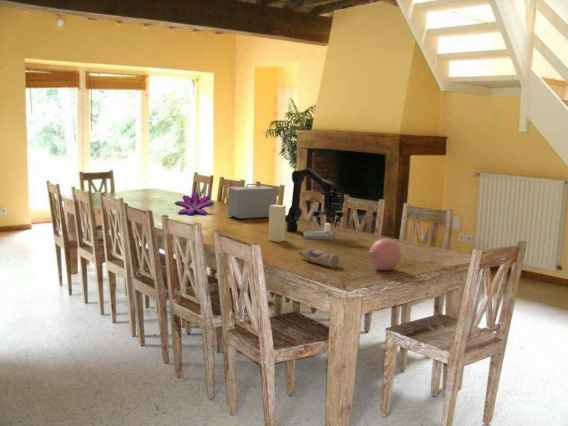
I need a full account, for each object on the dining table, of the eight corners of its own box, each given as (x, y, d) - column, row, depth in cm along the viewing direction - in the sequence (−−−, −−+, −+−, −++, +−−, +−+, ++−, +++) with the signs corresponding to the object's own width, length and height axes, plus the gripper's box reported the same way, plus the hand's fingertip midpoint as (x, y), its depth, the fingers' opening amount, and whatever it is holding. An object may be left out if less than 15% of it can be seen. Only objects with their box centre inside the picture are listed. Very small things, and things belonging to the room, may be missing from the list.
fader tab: (324, 234, 365) (324, 224, 364) (323, 232, 370) (323, 223, 369) (330, 234, 365) (330, 224, 364) (329, 232, 370) (330, 223, 369)
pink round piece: (354, 269, 287) (356, 238, 284) (384, 264, 298) (386, 235, 295) (376, 276, 274) (378, 244, 272) (406, 271, 285) (408, 240, 283)
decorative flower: (213, 222, 436) (212, 211, 431) (172, 224, 437) (170, 213, 431) (217, 200, 462) (215, 189, 456) (178, 202, 462) (176, 191, 457)
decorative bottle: (340, 266, 291) (340, 253, 290) (329, 269, 286) (330, 255, 285) (305, 256, 311) (305, 244, 310) (294, 258, 306) (294, 246, 305)
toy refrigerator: (285, 239, 354) (286, 205, 350) (280, 242, 347) (281, 206, 344) (273, 238, 357) (274, 204, 354) (268, 240, 350) (268, 205, 347)
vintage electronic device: (264, 214, 450) (265, 181, 446) (276, 217, 435) (277, 184, 431) (226, 216, 434) (227, 182, 430) (237, 220, 419) (238, 185, 415)
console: (304, 238, 359) (304, 233, 359) (303, 233, 375) (303, 229, 375) (333, 239, 360) (333, 234, 359) (331, 234, 375) (331, 230, 375)
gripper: (314, 203, 356) (313, 229, 358) (345, 204, 356) (343, 230, 359) (313, 201, 367) (312, 226, 369) (342, 202, 367) (341, 226, 370)
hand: (327, 227), depth 366 cm, fingers open, 9 cm apart
